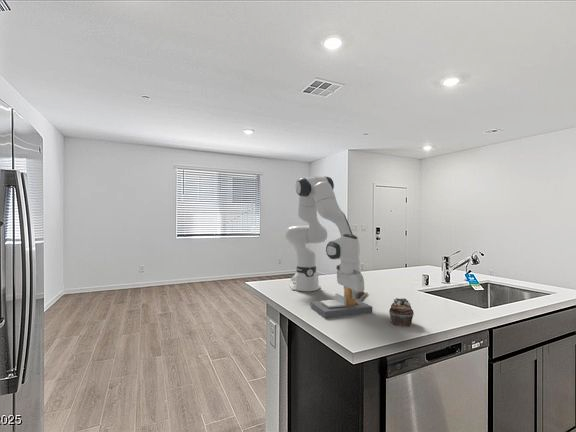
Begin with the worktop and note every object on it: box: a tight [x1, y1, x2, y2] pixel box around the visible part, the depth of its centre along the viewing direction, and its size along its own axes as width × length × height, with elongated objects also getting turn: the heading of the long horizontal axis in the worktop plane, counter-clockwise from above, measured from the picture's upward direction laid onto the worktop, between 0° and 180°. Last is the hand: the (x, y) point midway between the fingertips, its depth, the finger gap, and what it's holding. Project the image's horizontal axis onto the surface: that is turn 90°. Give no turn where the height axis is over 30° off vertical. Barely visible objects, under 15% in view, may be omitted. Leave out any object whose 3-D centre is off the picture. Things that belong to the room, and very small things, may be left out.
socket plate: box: [310, 299, 373, 319], centre depth 142 cm, size 16×24×3 cm, turn 108°
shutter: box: [320, 293, 346, 308], centre depth 141 cm, size 9×9×4 cm
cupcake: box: [388, 297, 415, 328], centre depth 125 cm, size 10×10×10 cm
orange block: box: [343, 286, 356, 306], centre depth 144 cm, size 4×4×10 cm
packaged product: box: [356, 290, 368, 302], centre depth 167 cm, size 18×5×10 cm
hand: (350, 297), depth 144 cm, fingers closed on orange block, 4 cm apart
